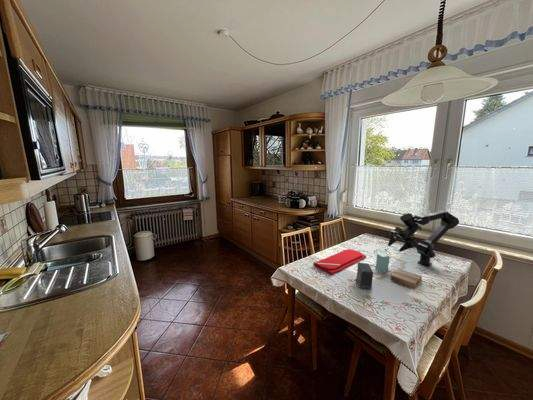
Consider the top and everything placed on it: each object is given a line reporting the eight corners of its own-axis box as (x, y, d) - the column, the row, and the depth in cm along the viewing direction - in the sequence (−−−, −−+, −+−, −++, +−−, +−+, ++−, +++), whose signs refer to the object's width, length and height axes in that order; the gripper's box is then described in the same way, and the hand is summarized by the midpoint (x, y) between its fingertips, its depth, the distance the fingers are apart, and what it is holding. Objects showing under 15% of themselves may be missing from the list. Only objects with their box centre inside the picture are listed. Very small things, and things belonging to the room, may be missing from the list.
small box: (372, 289, 121) (374, 272, 119) (359, 288, 122) (361, 271, 120) (367, 279, 131) (369, 263, 129) (356, 278, 132) (357, 262, 130)
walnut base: (398, 273, 138) (399, 268, 137) (421, 281, 129) (421, 276, 128) (390, 279, 130) (391, 275, 130) (413, 288, 121) (414, 283, 121)
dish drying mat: (366, 258, 160) (367, 253, 159) (332, 276, 135) (332, 271, 135) (347, 251, 172) (347, 246, 171) (312, 267, 148) (312, 261, 147)
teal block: (382, 267, 146) (383, 252, 144) (388, 270, 141) (389, 256, 139) (375, 267, 145) (377, 253, 143) (381, 271, 140) (382, 256, 138)
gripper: (392, 218, 149) (376, 235, 148) (416, 227, 131) (398, 246, 131) (400, 229, 152) (385, 245, 152) (425, 238, 134) (408, 257, 134)
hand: (393, 248), depth 142 cm, fingers open, 9 cm apart
